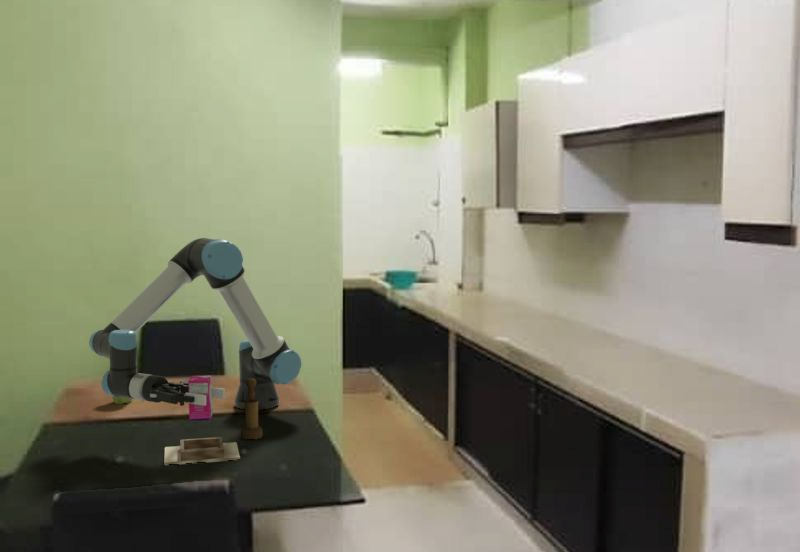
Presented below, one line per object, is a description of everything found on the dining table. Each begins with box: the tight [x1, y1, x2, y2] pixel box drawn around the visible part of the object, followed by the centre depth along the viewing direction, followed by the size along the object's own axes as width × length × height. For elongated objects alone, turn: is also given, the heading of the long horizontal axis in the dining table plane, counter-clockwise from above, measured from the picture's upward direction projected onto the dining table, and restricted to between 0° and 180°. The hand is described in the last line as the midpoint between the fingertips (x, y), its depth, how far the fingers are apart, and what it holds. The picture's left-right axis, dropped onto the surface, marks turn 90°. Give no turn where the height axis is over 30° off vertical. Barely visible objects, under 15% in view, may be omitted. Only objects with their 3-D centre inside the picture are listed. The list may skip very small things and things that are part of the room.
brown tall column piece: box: [240, 378, 264, 440], centre depth 246 cm, size 7×6×18 cm
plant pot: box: [111, 395, 133, 405], centre depth 287 cm, size 9×9×9 cm
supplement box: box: [187, 375, 214, 422], centre depth 227 cm, size 6×6×12 cm
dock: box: [163, 436, 241, 466], centre depth 230 cm, size 20×14×3 cm
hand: (214, 397), depth 225 cm, fingers closed on supplement box, 8 cm apart
